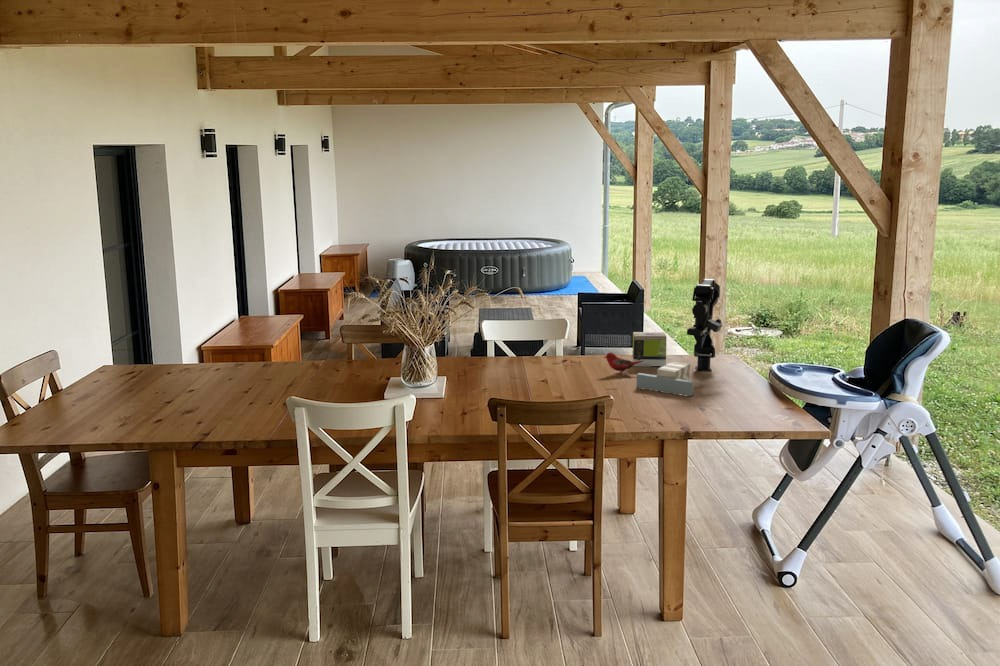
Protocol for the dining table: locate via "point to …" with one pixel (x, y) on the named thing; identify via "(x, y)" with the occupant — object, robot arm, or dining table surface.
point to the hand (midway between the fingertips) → (700, 348)
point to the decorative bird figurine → (619, 363)
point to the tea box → (649, 348)
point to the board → (665, 384)
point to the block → (675, 370)
